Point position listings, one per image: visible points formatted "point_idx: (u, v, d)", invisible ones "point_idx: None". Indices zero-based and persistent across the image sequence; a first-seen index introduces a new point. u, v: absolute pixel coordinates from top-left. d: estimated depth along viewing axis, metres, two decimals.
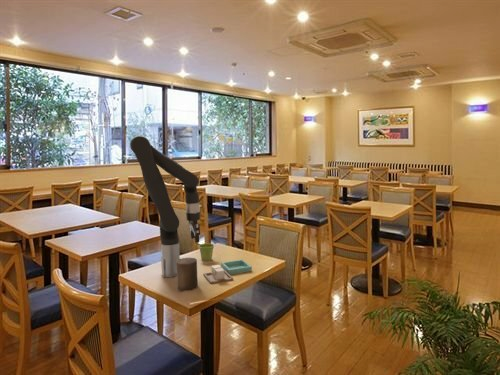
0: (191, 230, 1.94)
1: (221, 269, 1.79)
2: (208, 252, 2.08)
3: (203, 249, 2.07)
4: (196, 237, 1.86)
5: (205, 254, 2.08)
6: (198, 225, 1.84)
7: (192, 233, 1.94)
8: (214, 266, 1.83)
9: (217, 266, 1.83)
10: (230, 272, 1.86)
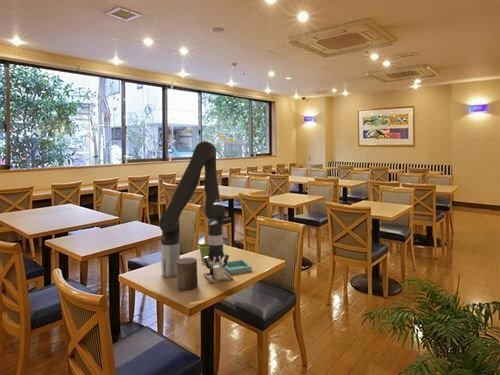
0: (212, 267, 1.82)
1: (221, 269, 1.79)
2: (208, 252, 2.08)
3: (203, 249, 2.07)
4: None
5: (205, 254, 2.08)
6: None
7: None
8: (214, 266, 1.83)
9: (217, 266, 1.83)
10: (230, 272, 1.86)
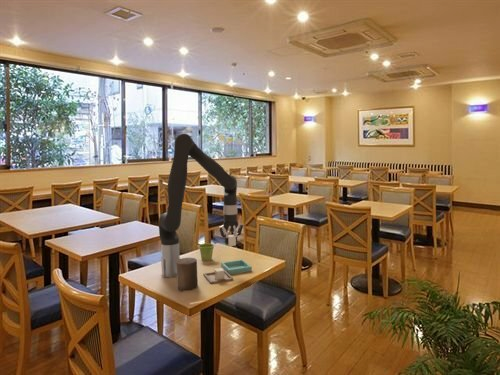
0: (227, 236, 1.89)
1: (221, 269, 1.79)
2: (208, 252, 2.08)
3: (203, 249, 2.07)
4: None
5: (205, 254, 2.08)
6: None
7: None
8: (229, 235, 1.90)
9: (232, 235, 1.90)
10: (230, 272, 1.86)
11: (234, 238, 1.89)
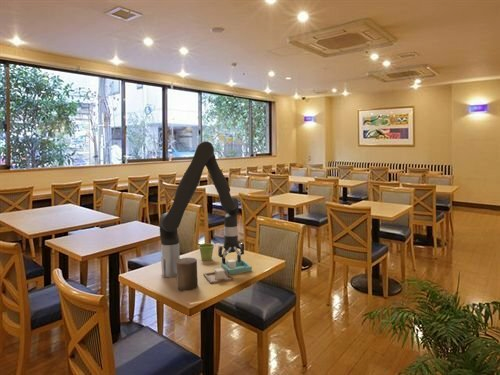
0: (224, 256, 1.90)
1: (221, 269, 1.79)
2: (208, 252, 2.08)
3: (203, 249, 2.07)
4: (240, 256, 1.94)
5: (205, 254, 2.08)
6: None
7: None
8: (229, 260, 1.92)
9: (232, 260, 1.92)
10: (230, 272, 1.86)
11: (234, 263, 1.91)
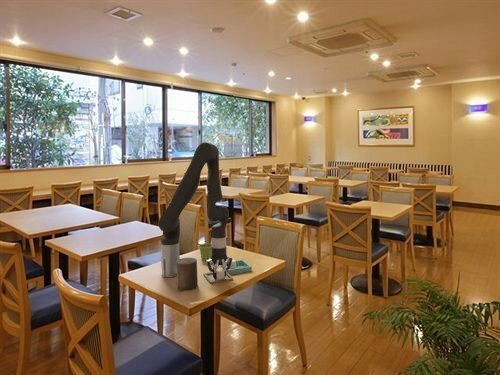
0: (215, 270, 1.77)
1: (221, 269, 1.79)
2: (208, 252, 2.08)
3: (203, 249, 2.07)
4: None
5: (205, 254, 2.08)
6: None
7: None
8: None
9: (232, 260, 1.92)
10: (230, 272, 1.86)
11: (234, 263, 1.91)
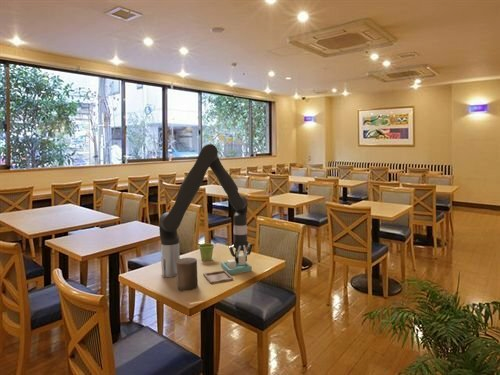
0: (237, 255, 1.93)
1: (242, 254, 1.95)
2: (208, 252, 2.08)
3: (203, 249, 2.07)
4: (246, 257, 1.95)
5: (205, 254, 2.08)
6: None
7: None
8: (229, 260, 1.92)
9: (232, 260, 1.92)
10: (230, 272, 1.86)
11: (234, 263, 1.91)
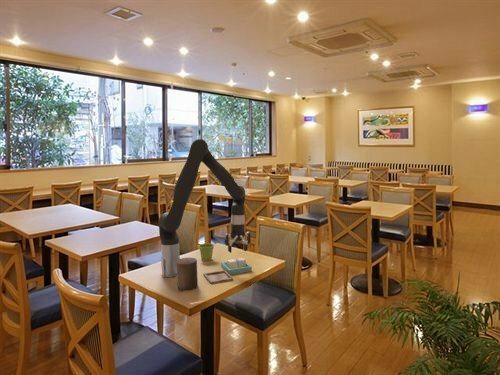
0: None
1: (242, 259, 1.95)
2: (208, 252, 2.08)
3: (203, 249, 2.07)
4: None
5: (205, 254, 2.08)
6: None
7: None
8: (230, 260, 1.92)
9: (233, 260, 1.92)
10: (230, 272, 1.86)
11: (235, 263, 1.91)
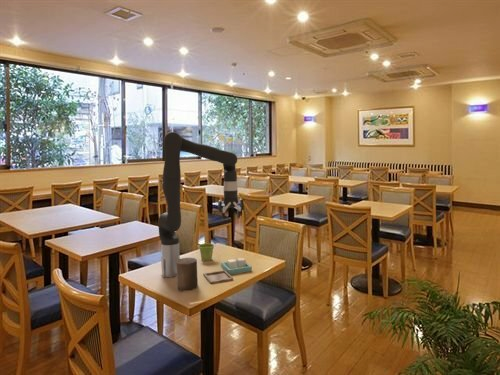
0: None
1: (242, 259, 1.95)
2: (208, 252, 2.08)
3: (203, 249, 2.07)
4: None
5: (205, 254, 2.08)
6: None
7: None
8: (230, 260, 1.92)
9: (233, 260, 1.92)
10: (230, 272, 1.86)
11: (235, 263, 1.91)
